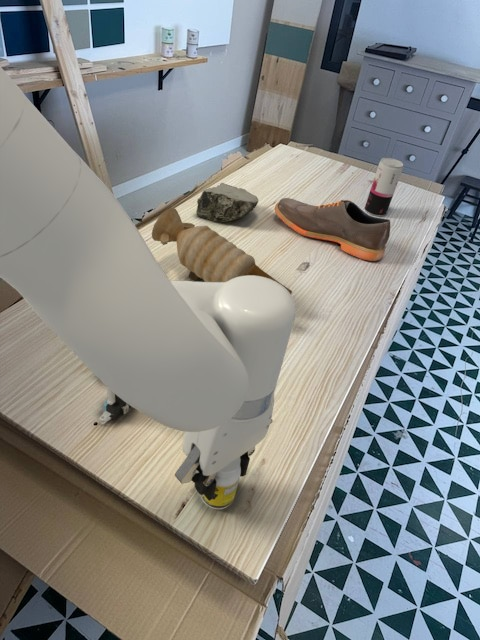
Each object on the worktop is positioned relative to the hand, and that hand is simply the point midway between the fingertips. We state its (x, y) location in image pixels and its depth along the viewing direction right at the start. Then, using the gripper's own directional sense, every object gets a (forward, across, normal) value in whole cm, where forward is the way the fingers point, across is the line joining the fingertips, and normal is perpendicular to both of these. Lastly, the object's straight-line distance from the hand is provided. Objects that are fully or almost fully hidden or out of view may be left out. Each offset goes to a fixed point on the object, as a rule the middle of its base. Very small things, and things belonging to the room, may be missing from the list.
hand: (220, 478), depth 61 cm
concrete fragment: (+4, -52, -60) cm, 80 cm away
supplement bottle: (+4, 0, 0) cm, 4 cm away
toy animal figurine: (+4, -29, -36) cm, 47 cm away
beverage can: (+3, -94, -41) cm, 103 cm away
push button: (+4, +4, -20) cm, 21 cm away
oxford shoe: (+4, -69, -39) cm, 79 cm away
